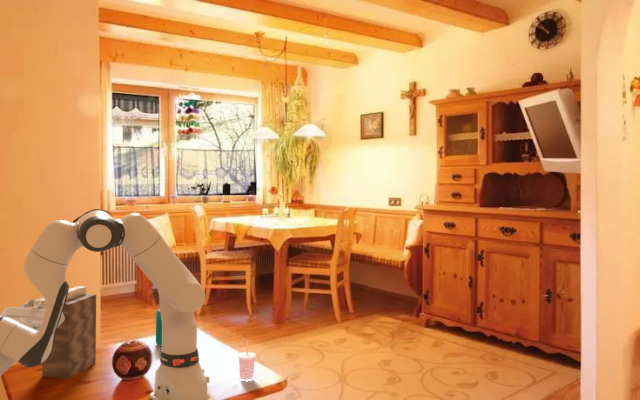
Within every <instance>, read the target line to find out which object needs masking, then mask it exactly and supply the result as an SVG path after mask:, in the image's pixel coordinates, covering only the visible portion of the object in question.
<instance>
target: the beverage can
mask: <svg viewBox="0 0 640 400" xmlns="http://www.w3.org/2000/svg"><path fill="white" fill-rule="evenodd" d="M155 343H156V345H157V346H158V347H162V320H161V313H160V307H159V308H157V309H156V314H155Z"/></svg>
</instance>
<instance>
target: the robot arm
mask: <svg viewBox="0 0 640 400" xmlns="http://www.w3.org/2000/svg"><path fill="white" fill-rule="evenodd" d="M119 246H122V247H123V248H124V250H125V251H126V252H127V253H128V255H129V256H130V257H131V258H132V260H133V262H134V263H135V264H136V265H137V267H139V269H140V270H141V271H142V273H143V274H144V275H145V277H146V278H147V279H148V280H149V281H150V282H151V283H152V285H153V286H154V287H155V288H156V289H157V293H158V300H159V301H158V302H159V303H158V304H159V308H160V313H161V320H162V346H161V350H160V354H159V358H160V359H159V362H160V365H159V366H158V367H157V369H156V370H155V376H154V387H153V388H154V389H153V391H152V392H151V393H150V394H149V398H150V400H215V398H214V395H213V394H212V393H211V390H210V389H209V387H208V384H209V383H210V376H209V375H205V374H204V373H205V369H204V368H202V367H201V364H200V358H199V355H200V354H199V350H198V345H197V344H198V339H197V338H198V324H197V321H196V316H195V312H198V311H199V310H200V309H201V308H202V307H203V305H204V303H205V300H206V293H205V289H204V288H203V286H202V285H201V284H200V282H199V281H198V280H197V278H196V277H195V276H194V274H193V273H192V272H191V271H190V270H189V268H187V266H186V265H185V264H184V262H183V261H181V259H180V258H179V257H178V256H177V255H176V254H175V252H174V250H172V248H171V247H170V245H169V244H168V243H167V242H166V240H165V239H164V237H163V236H162V235H161V233H160V232H159V231H158V230H157V228H156V227H155V226H154V225H153V224H152V223H151V222H150V221H149V220H148V218H146V217H145V216H144V215H142V214H141V213H138V212H132V213H129V214H126V215H124V216H123V217H122V218H115V217H113V214H111V213H110V212H109V211H107V210H104V209H102V208H101V209H100V208H94V209H90V210H89V211H86V212H84V213H83V214H82V215H80V216H79V217H77V218H75V219H74V220H72V222H70V221H68V220H64V219H56V220H52V221H50V222H49V223H47V225H46V226H45V227H44V229H43V230H42V231H41V233H40V234H39V236H38V237H37V238H36V239H35V241H34V243H33V245H32V246H31V248H30V249H29V251H28V254H27V256H26V258H25V260H24V263H23V269H24V273H25V276H26V278H27V280H28V281H29V282H30V283H31V285H33V286H34V287H35V289H37V290H38V292H39V293H40V294H41V295H42V298H43V297H44V298H45V300H46V304H47V307H46V309H38V308H34V300H35V299H29V300H28V301H26V302H24V303H23V304H21V305H20V306H9V307H5V308H4V309H3V311H2V312H0V377H1V376H2V375H4V374H5V373H6V372H7V371H8V369H10V368H11V366H13V364H14V363H16V362H17V363H18V364H20V365H22V366H23V367H26V368H28V369H29V368H34V367H38V366H40V365H42V364H43V363H44V361H45V360H46V359H47V358H48V356H49V354H50V352H51V349H52V345H53V341H54V337H55V333H56V330H57V328H58V327H59V326H60V325H61V324H62V322H63V321H64V320H65V317H64V314H63V309H64V305H65V302H66V299H67V295H68V290H69V289H70V285H69V283H68V282H67V279H66V277H67V276H66V273H67V269H68V266H69V264H70V262H71V260H72V259H73V256H74V255H75V254H76V252H77V251H78V250H79V249H81V248H83V247H84V248H85V249H86V250H89V251H91V252H94V253H95V252H97V253H100V252H105V251H107V250H110V249H113V248H116V247H119Z"/></svg>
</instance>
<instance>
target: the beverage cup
mask: <svg viewBox="0 0 640 400" xmlns="http://www.w3.org/2000/svg"><path fill="white" fill-rule="evenodd" d="M256 355H257V354H256V353H254V352H252V351H249V340H246V350H245V351H243V352H240V353H238V363H239V364H238V365H239V368H238V370H239V379H240V378H241V379H244V380H247V379H251V378H253V379H254V374H255V373H254V371H255V362H256V361H255V360H256V358H257V357H256Z"/></svg>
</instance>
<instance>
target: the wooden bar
mask: <svg viewBox="0 0 640 400" xmlns="http://www.w3.org/2000/svg"><path fill="white" fill-rule="evenodd" d="M86 294H87V286H85V285H78V286H74V287H71V288H69V290H68V295H67V299H66V301H69V300H72V299H75V298H78V297H80V296H83V295H86ZM33 300H34V306H33V308H38V309H46V307H47V304H46V300H45V298H44V297H43V296H42V297H40V298H37V299H33Z"/></svg>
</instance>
